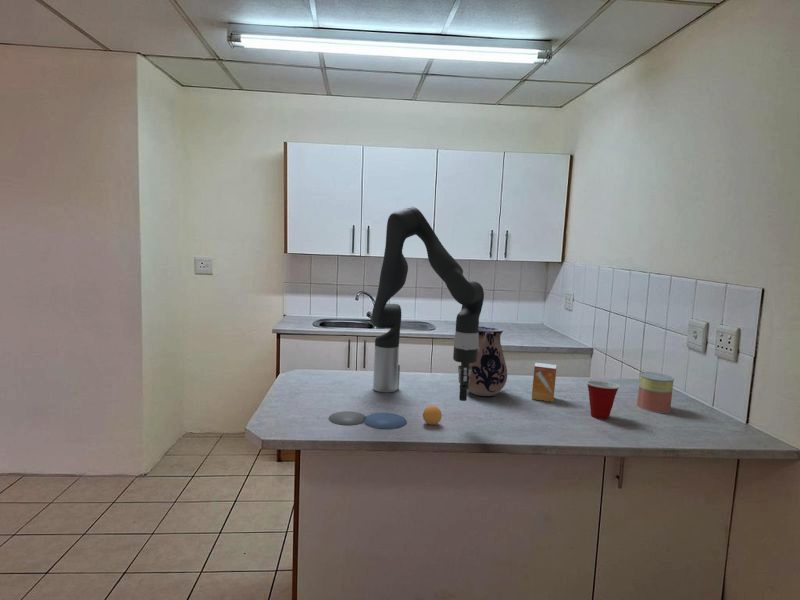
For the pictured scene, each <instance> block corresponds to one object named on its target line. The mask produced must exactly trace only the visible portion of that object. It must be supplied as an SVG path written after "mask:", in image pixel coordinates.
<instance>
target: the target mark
mask: <svg viewBox="0 0 800 600" xmlns="http://www.w3.org/2000/svg"><path fill="white" fill-rule="evenodd" d="M365 416H366V418H364V419H366V420H365V421H364V420H363V421H364V422H363V423H364V424H365V425H366V426H368V427H370V426H371V427H370V428H373V427H374V428H375V429H378V428H379V430H394V428H395V429H399V428H402V427H405V425H407V423H408V420H407V418H405V417H404V416H403V415H399V414H397V413H392V412H391V413H390V412H375V413H370V414H368V415H365Z"/></svg>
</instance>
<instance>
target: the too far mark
mask: <svg viewBox="0 0 800 600" xmlns="http://www.w3.org/2000/svg"><path fill="white" fill-rule="evenodd" d="M366 416H367V415H365V414H364V413H361V412H357V411H345V410H344V411H337V412H334V413H332V414H330V415H329V417H328V420H329V422H331V423H333V424H335V425H340V426H354V425H355V424H356V425H360V424H363V423H364V421H365V420H366V419H364V418H366ZM363 420H364V421H363Z"/></svg>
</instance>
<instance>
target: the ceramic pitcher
mask: <svg viewBox="0 0 800 600" xmlns="http://www.w3.org/2000/svg"><path fill="white" fill-rule="evenodd" d="M503 332H504V330H503V329H499V328H494V327H487V326H483V325H479V330H478V337H479V343H478V359H477V362H475V363H470V364H469V366H471V374H470V382H469V385H468V386H469V388H468V390H467V391H468V392H470V393H471V394H473V395H476V396H481V397H491V396H496V395H497V394H499V393H500V392H501V390H503V389H504V387H505V385H506V383H507V380H508V368H507V364H506V359H505V355H504V351H503V347H502V343H501V335H502V334H503Z"/></svg>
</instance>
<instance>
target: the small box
mask: <svg viewBox="0 0 800 600" xmlns="http://www.w3.org/2000/svg"><path fill="white" fill-rule="evenodd" d="M557 367H558V366H557V364H549V363H542V362H541V363H540V362H535V363H534V367H533V368H534V369H533V377H532V391H531V399H532V400H535V399H536V400H535V401H542V400H544V402H549V401H551V403H553V402H554V399H555V390H556V389H555V388H556V377H557V369H558V368H557Z"/></svg>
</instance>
